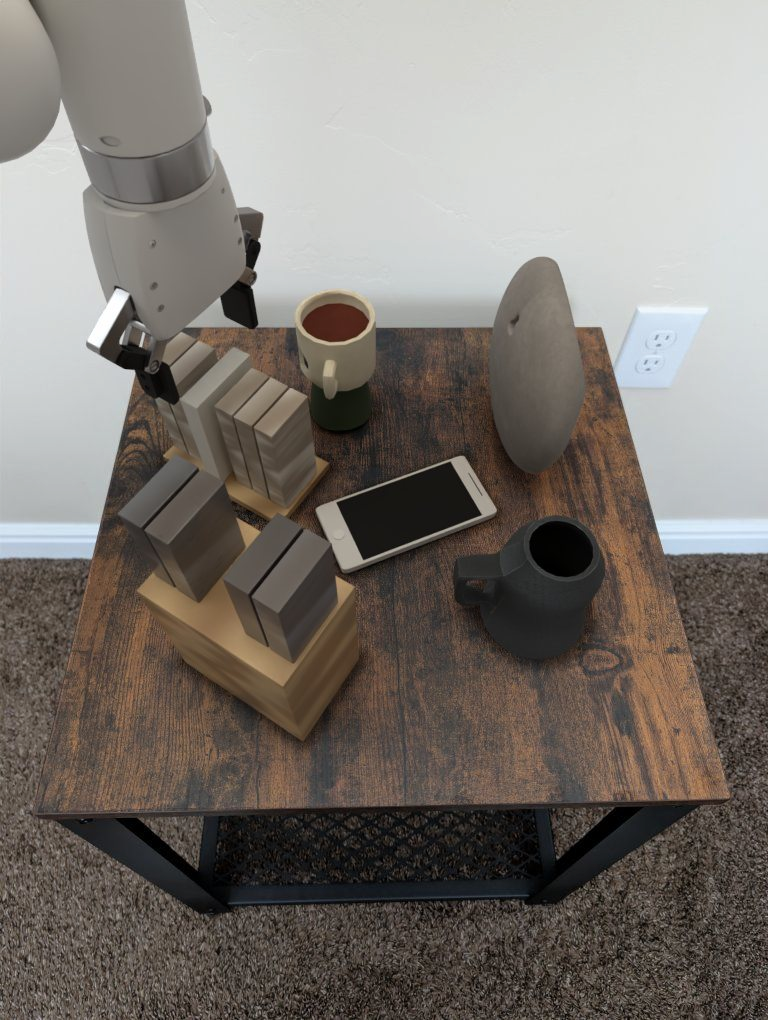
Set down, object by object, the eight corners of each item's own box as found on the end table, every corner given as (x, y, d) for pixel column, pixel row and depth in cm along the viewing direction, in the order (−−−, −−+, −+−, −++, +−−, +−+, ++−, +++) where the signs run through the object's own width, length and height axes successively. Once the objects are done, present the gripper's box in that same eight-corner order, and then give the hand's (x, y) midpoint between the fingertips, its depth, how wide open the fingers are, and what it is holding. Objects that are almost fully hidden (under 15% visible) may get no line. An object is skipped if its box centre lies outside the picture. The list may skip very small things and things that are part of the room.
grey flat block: (207, 475, 67) (179, 399, 57) (252, 426, 70) (233, 346, 60) (221, 483, 66) (196, 408, 57) (267, 433, 69) (250, 354, 60)
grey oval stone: (567, 510, 66) (629, 373, 50) (493, 513, 66) (530, 376, 50) (535, 364, 76) (577, 210, 60) (469, 366, 76) (495, 212, 60)
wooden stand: (185, 662, 58) (94, 530, 39) (245, 588, 62) (188, 434, 43) (303, 741, 55) (265, 639, 36) (359, 658, 58) (351, 525, 40)
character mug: (315, 369, 75) (304, 270, 64) (381, 374, 75) (382, 276, 64) (298, 451, 69) (283, 358, 58) (369, 457, 69) (368, 365, 58)
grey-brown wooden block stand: (165, 461, 69) (128, 378, 58) (217, 408, 72) (191, 320, 62) (280, 528, 65) (262, 451, 55) (329, 468, 68) (321, 385, 58)
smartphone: (315, 512, 66) (314, 506, 65) (462, 459, 69) (463, 453, 68) (343, 575, 62) (343, 570, 61) (497, 516, 66) (498, 511, 65)
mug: (575, 560, 63) (611, 493, 54) (594, 658, 59) (637, 603, 49) (443, 563, 63) (455, 496, 53) (451, 661, 58) (465, 607, 49)
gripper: (195, 71, 47) (234, 279, 61) (-11, 204, 39) (91, 406, 53) (286, 107, 45) (304, 312, 59) (89, 254, 37) (166, 450, 51)
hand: (203, 357), depth 56 cm, fingers open, 9 cm apart
